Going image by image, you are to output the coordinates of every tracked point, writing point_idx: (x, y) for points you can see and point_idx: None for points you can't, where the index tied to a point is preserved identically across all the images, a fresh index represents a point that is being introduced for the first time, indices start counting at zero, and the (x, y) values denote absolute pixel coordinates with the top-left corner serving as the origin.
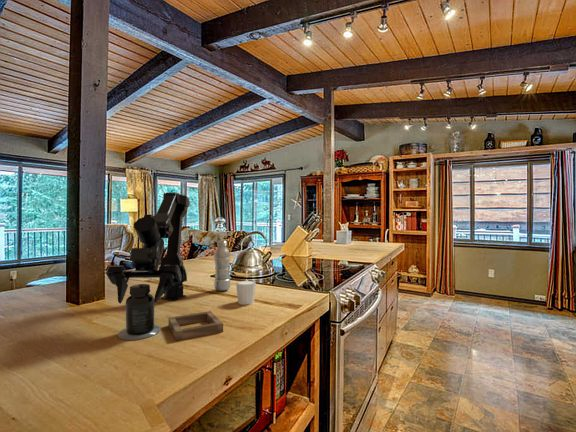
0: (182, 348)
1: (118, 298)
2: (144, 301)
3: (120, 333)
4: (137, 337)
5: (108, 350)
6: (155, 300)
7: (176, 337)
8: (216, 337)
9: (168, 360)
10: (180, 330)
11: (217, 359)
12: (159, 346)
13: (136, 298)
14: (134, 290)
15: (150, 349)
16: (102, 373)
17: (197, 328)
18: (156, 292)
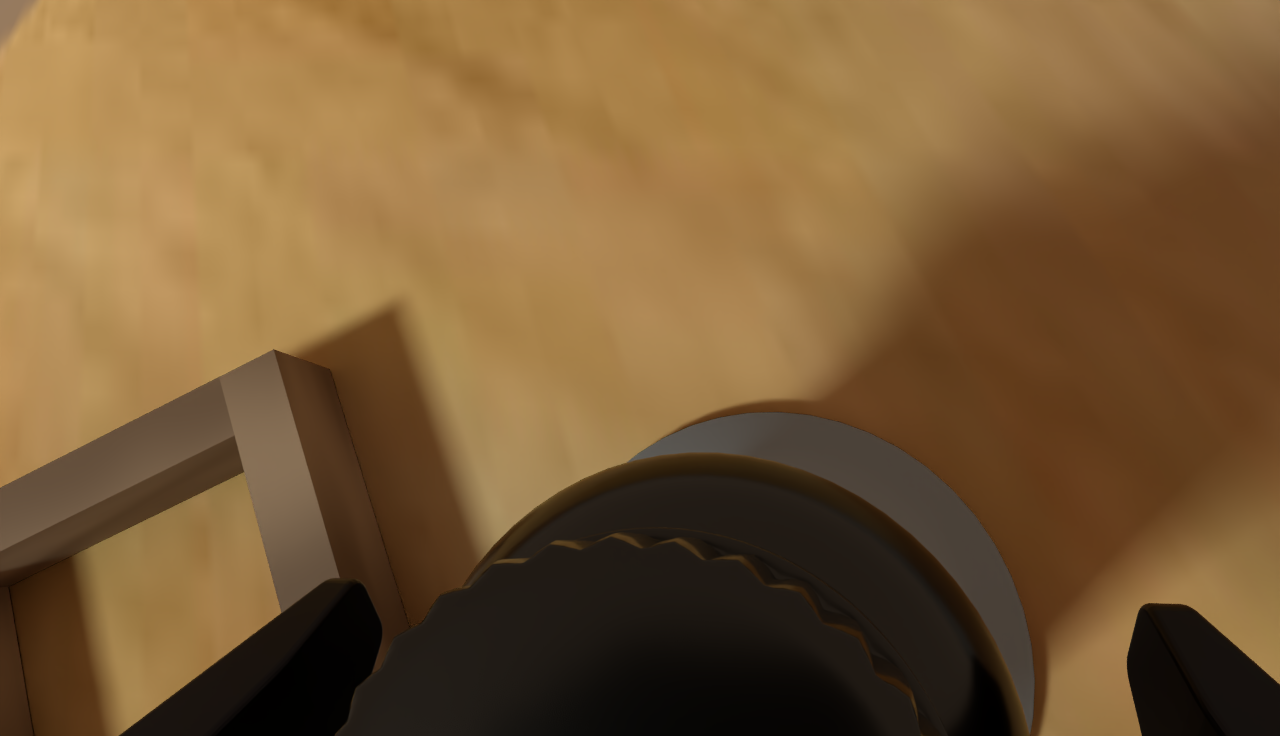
0: (264, 212)
1: (1233, 661)
2: (526, 518)
3: (991, 597)
4: (719, 446)
5: (908, 181)
6: (331, 579)
7: (308, 363)
8: (18, 424)
9: (337, 18)
10: (239, 392)
11: (41, 44)
12: (453, 257)
13: (680, 518)
14: (708, 550)
15: (515, 198)
16: None
17: (90, 443)
18: (221, 707)
